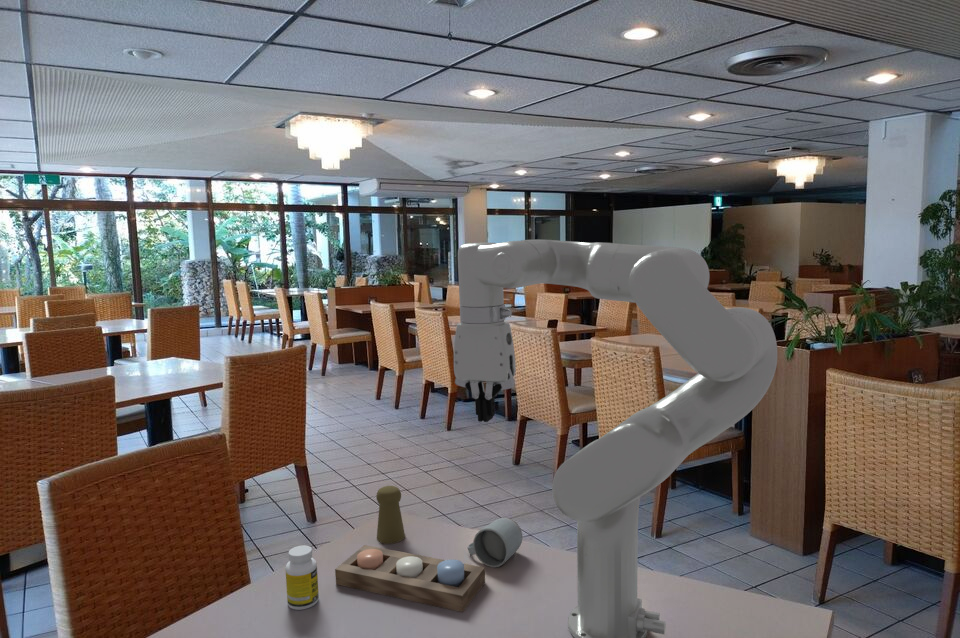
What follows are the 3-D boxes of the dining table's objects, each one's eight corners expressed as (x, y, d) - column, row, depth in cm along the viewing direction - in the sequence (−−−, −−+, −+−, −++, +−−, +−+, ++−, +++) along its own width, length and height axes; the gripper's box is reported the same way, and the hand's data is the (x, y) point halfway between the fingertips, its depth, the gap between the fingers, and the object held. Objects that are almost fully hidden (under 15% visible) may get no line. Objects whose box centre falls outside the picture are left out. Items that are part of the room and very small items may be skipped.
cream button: (427, 573, 124) (426, 558, 124) (415, 586, 120) (414, 571, 119) (405, 569, 126) (404, 554, 125) (392, 582, 122) (391, 566, 121)
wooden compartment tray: (485, 582, 122) (484, 567, 122) (462, 612, 113) (462, 595, 113) (365, 558, 133) (364, 544, 132) (336, 584, 123) (335, 569, 123)
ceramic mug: (525, 552, 133) (524, 516, 132) (508, 571, 126) (506, 533, 125) (479, 542, 138) (477, 507, 137) (459, 560, 131) (457, 523, 130)
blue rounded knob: (468, 577, 121) (468, 562, 120) (457, 591, 116) (457, 575, 116) (445, 572, 122) (444, 557, 122) (433, 586, 118) (432, 570, 118)
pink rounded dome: (388, 565, 127) (387, 551, 127) (374, 578, 123) (374, 563, 123) (366, 561, 129) (366, 547, 129) (353, 573, 125) (352, 558, 124)
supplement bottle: (318, 608, 116) (314, 556, 114) (286, 612, 115) (281, 559, 113) (320, 592, 121) (316, 541, 120) (289, 595, 120) (285, 544, 119)
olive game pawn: (399, 544, 138) (397, 494, 137) (372, 542, 139) (369, 493, 138) (408, 531, 144) (406, 483, 142) (382, 529, 145) (379, 481, 144)
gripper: (530, 313, 113) (533, 417, 116) (451, 311, 119) (455, 410, 122) (515, 319, 106) (519, 429, 109) (432, 317, 112) (437, 422, 115)
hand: (485, 419), depth 115 cm, fingers closed
